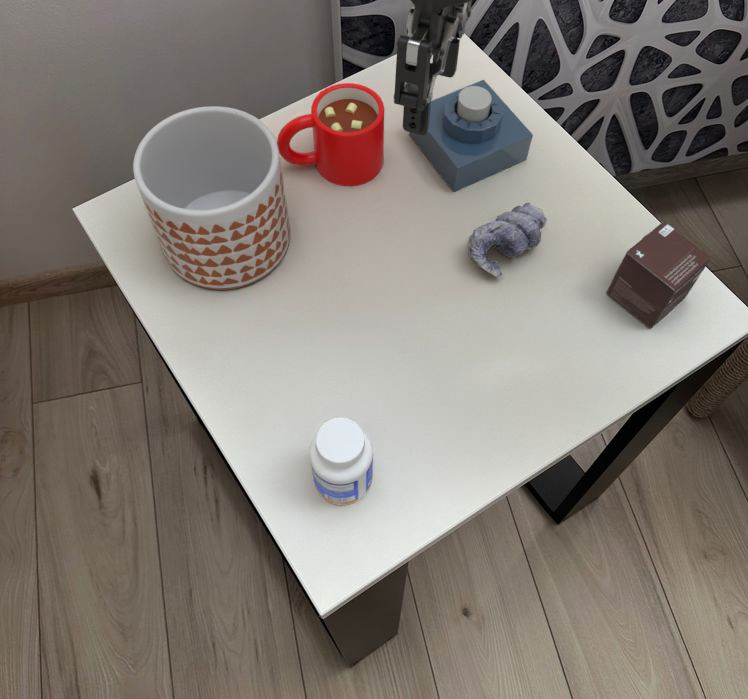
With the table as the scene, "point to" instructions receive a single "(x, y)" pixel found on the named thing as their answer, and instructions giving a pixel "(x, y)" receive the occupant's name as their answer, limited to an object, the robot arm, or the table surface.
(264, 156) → the planter
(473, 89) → the grey short cylinder
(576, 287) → the table surface
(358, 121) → the mug
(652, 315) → the box
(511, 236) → the seashell
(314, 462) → the pill bottle
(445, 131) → the button housing
